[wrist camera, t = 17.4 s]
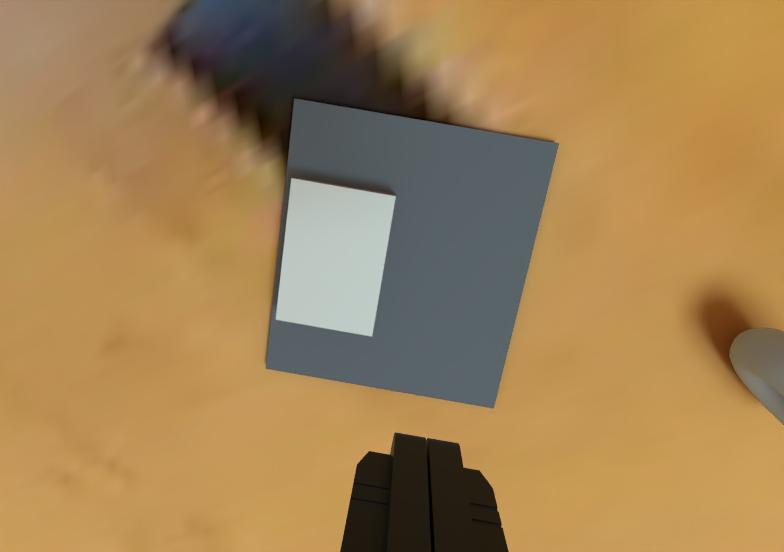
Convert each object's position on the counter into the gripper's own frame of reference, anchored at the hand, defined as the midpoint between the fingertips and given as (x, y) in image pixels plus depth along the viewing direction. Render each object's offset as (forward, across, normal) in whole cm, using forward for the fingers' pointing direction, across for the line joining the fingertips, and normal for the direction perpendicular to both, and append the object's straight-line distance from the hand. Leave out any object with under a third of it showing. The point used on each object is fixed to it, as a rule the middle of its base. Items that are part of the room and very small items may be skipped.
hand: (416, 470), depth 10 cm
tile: (+22, +2, 0) cm, 22 cm away
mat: (+23, +1, 0) cm, 23 cm away
